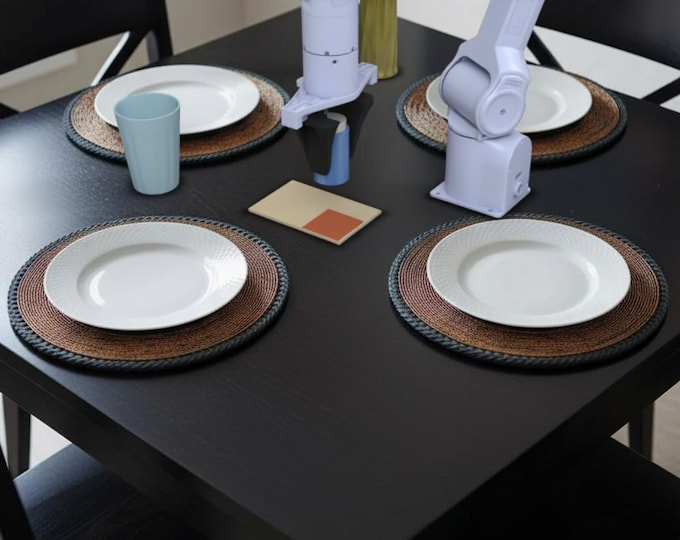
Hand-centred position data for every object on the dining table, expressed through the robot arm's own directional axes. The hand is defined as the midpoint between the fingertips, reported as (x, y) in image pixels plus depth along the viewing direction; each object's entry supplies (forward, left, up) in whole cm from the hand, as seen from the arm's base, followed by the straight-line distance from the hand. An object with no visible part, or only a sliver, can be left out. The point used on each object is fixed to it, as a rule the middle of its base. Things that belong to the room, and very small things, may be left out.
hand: (332, 164), depth 114 cm
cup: (+24, +4, -8) cm, 25 cm away
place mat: (+4, -1, -8) cm, 9 cm away
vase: (+21, -40, -8) cm, 46 cm away
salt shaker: (0, 0, -2) cm, 2 cm away
